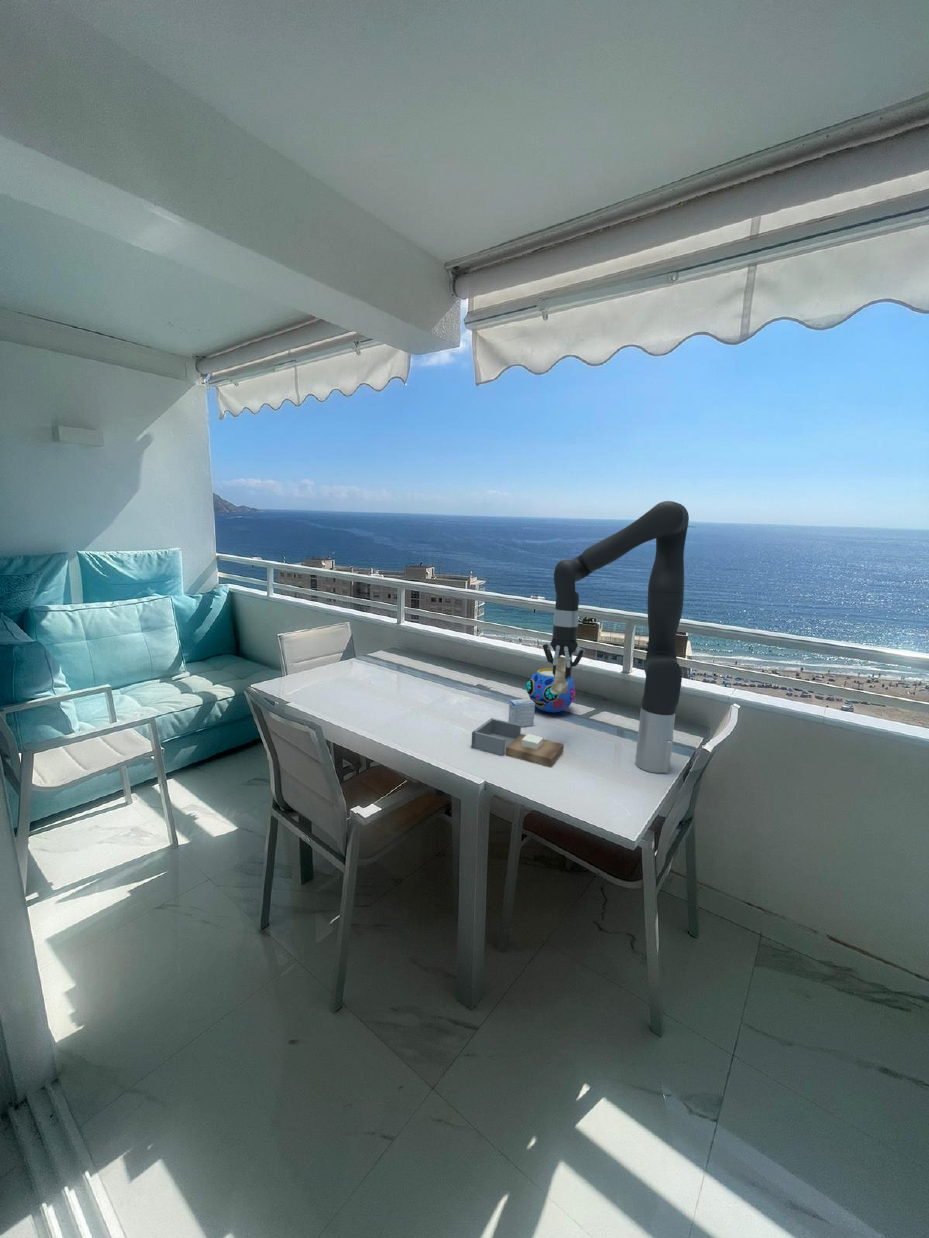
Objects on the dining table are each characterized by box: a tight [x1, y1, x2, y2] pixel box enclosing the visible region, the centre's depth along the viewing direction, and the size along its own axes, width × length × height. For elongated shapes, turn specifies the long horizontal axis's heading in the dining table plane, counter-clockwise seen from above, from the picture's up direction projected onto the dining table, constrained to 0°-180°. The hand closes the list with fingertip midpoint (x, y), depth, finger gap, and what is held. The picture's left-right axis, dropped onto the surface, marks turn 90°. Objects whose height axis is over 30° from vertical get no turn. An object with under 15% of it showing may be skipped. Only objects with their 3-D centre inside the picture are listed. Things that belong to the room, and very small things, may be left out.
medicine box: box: [507, 698, 536, 728], centre depth 167 cm, size 8×4×9 cm, turn 111°
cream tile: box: [522, 733, 544, 750], centre depth 145 cm, size 5×5×2 cm
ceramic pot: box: [525, 667, 576, 714], centre depth 182 cm, size 18×18×15 cm
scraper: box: [551, 656, 568, 694], centre depth 153 cm, size 3×8×11 cm, turn 152°
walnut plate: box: [505, 733, 565, 768], centre depth 145 cm, size 14×12×2 cm
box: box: [471, 717, 522, 757], centre depth 151 cm, size 10×14×5 cm
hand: (561, 676), depth 153 cm, fingers closed on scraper, 3 cm apart
